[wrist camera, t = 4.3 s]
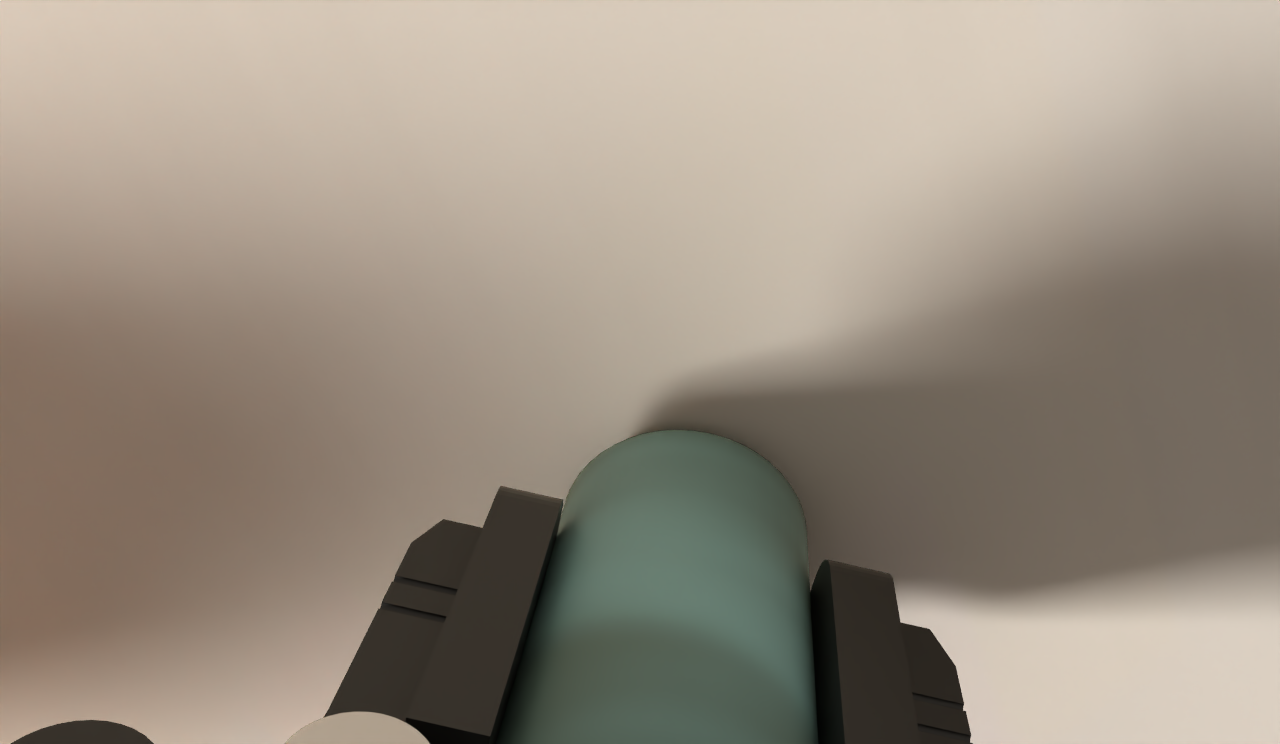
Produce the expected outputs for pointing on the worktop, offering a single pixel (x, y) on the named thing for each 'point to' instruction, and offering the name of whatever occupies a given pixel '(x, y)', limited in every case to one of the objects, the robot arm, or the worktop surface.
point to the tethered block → (672, 604)
